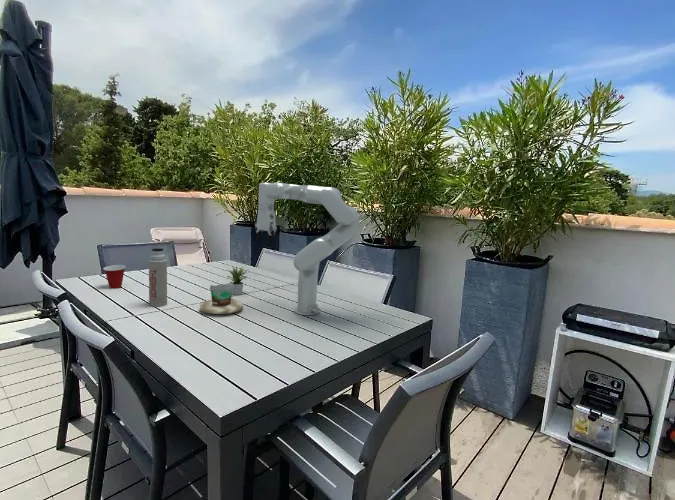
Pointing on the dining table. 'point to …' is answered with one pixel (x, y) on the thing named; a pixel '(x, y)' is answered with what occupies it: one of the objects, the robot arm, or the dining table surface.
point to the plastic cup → (114, 275)
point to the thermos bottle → (157, 278)
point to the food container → (221, 294)
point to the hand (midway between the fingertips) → (265, 242)
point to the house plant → (237, 280)
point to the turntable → (221, 307)
